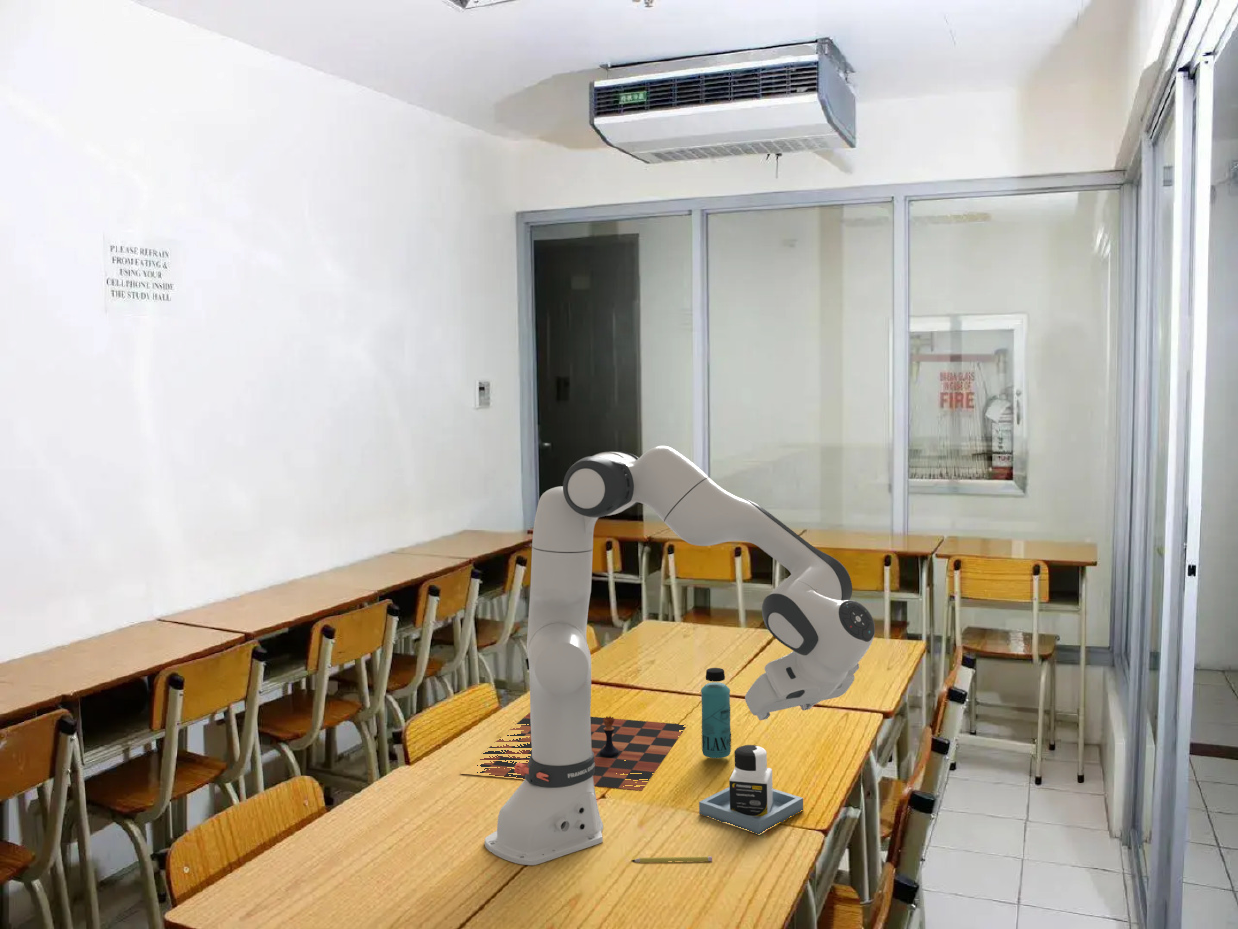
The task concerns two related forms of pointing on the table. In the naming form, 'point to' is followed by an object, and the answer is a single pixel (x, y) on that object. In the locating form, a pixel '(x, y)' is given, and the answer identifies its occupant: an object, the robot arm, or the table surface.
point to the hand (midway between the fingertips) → (782, 711)
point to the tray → (779, 812)
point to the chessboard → (607, 750)
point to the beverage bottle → (716, 716)
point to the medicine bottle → (751, 782)
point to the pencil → (672, 859)
